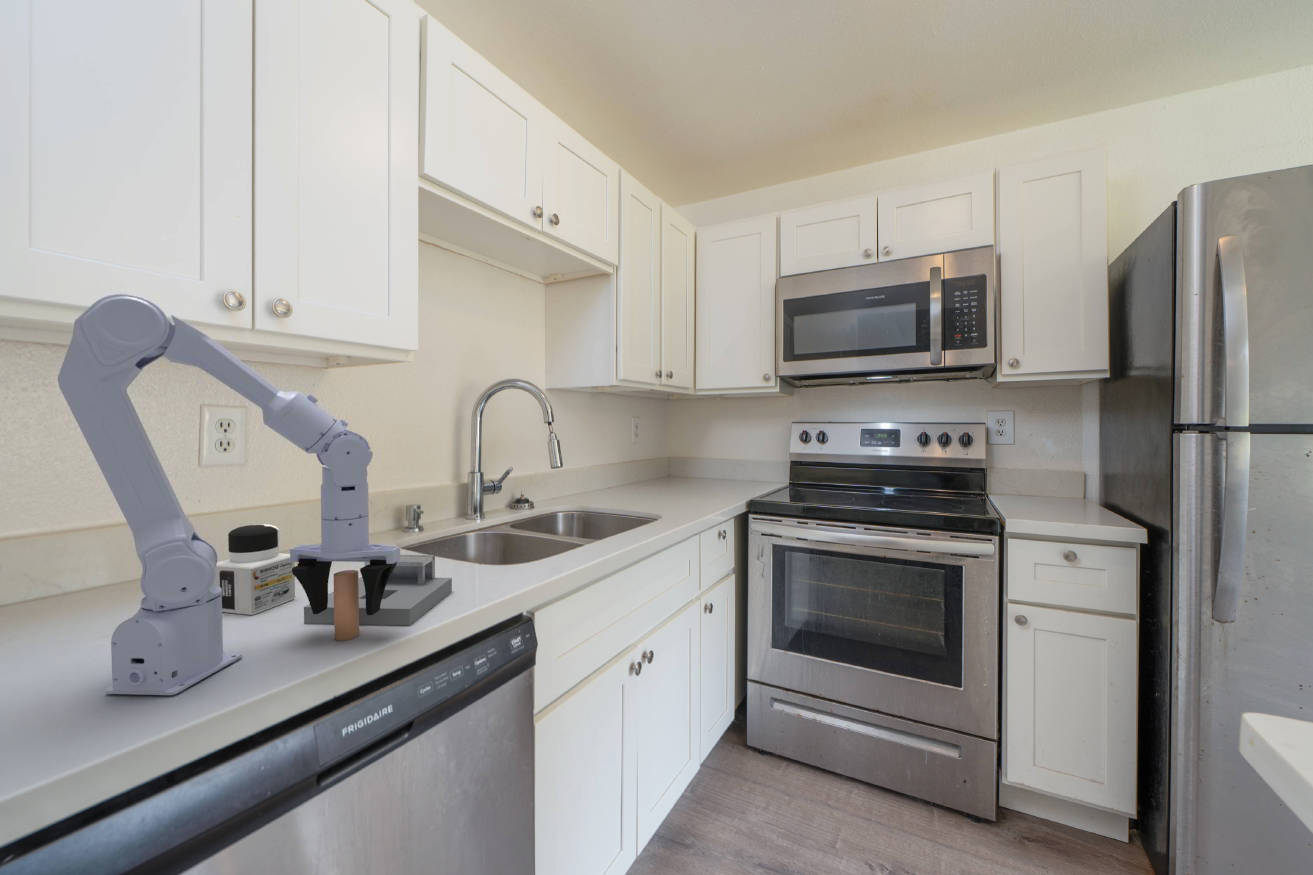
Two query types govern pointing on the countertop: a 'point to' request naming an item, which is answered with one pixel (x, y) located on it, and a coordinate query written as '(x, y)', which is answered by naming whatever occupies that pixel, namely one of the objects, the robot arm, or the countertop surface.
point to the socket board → (391, 602)
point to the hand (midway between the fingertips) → (346, 612)
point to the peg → (346, 605)
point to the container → (254, 571)
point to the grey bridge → (414, 568)
